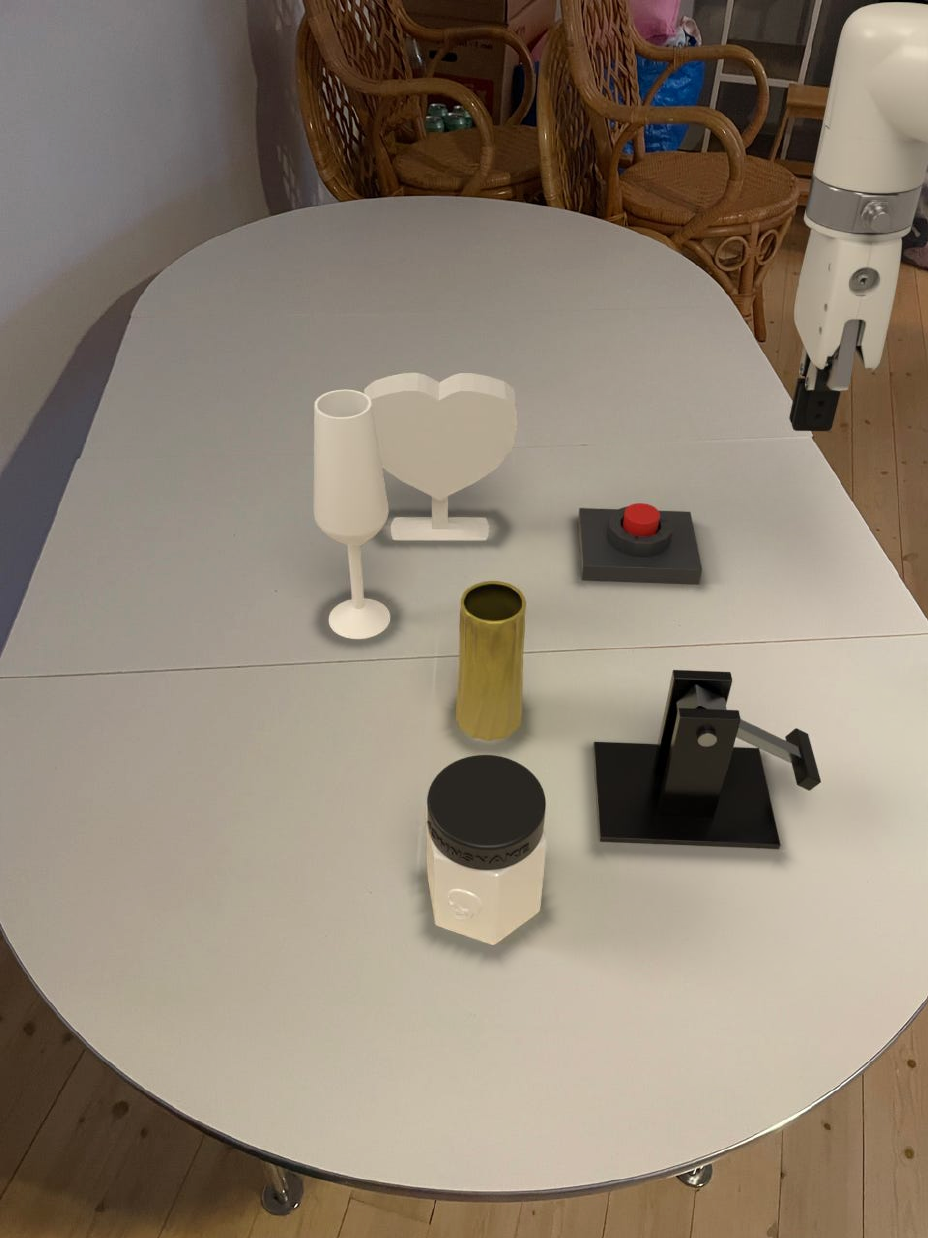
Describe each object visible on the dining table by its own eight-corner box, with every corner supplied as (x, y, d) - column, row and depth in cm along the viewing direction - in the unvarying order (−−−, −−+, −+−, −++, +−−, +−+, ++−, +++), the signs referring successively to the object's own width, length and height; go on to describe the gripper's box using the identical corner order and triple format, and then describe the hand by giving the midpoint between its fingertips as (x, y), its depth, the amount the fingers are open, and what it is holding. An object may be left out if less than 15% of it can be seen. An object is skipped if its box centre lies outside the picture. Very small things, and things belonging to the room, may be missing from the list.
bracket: (755, 759, 89) (788, 651, 81) (776, 856, 82) (815, 748, 73) (592, 752, 90) (607, 644, 81) (598, 849, 82) (615, 741, 74)
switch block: (687, 527, 114) (693, 497, 111) (698, 586, 107) (705, 555, 104) (577, 523, 114) (580, 493, 112) (581, 582, 107) (584, 551, 104)
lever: (792, 746, 84) (813, 729, 83) (804, 795, 81) (826, 778, 79) (673, 689, 81) (693, 670, 79) (681, 737, 77) (702, 719, 76)
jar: (406, 925, 77) (401, 825, 69) (447, 840, 83) (447, 739, 75) (521, 965, 75) (530, 866, 67) (555, 875, 80) (566, 774, 72)
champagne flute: (388, 593, 105) (377, 380, 89) (399, 638, 100) (389, 420, 84) (321, 602, 104) (298, 387, 88) (329, 647, 99) (306, 429, 83)
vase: (439, 721, 92) (439, 598, 83) (490, 688, 95) (494, 566, 86) (487, 760, 89) (491, 638, 79) (537, 725, 92) (548, 603, 83)
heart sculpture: (510, 516, 115) (517, 369, 103) (512, 544, 111) (520, 395, 99) (369, 516, 115) (360, 368, 103) (367, 544, 111) (357, 394, 99)
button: (656, 516, 109) (658, 503, 108) (659, 537, 107) (661, 524, 106) (621, 515, 109) (623, 502, 108) (624, 536, 107) (626, 522, 106)
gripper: (945, 242, 69) (877, 475, 81) (887, 169, 81) (835, 383, 93) (831, 241, 70) (780, 474, 82) (789, 168, 81) (749, 382, 93)
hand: (809, 425), depth 87 cm, fingers closed
